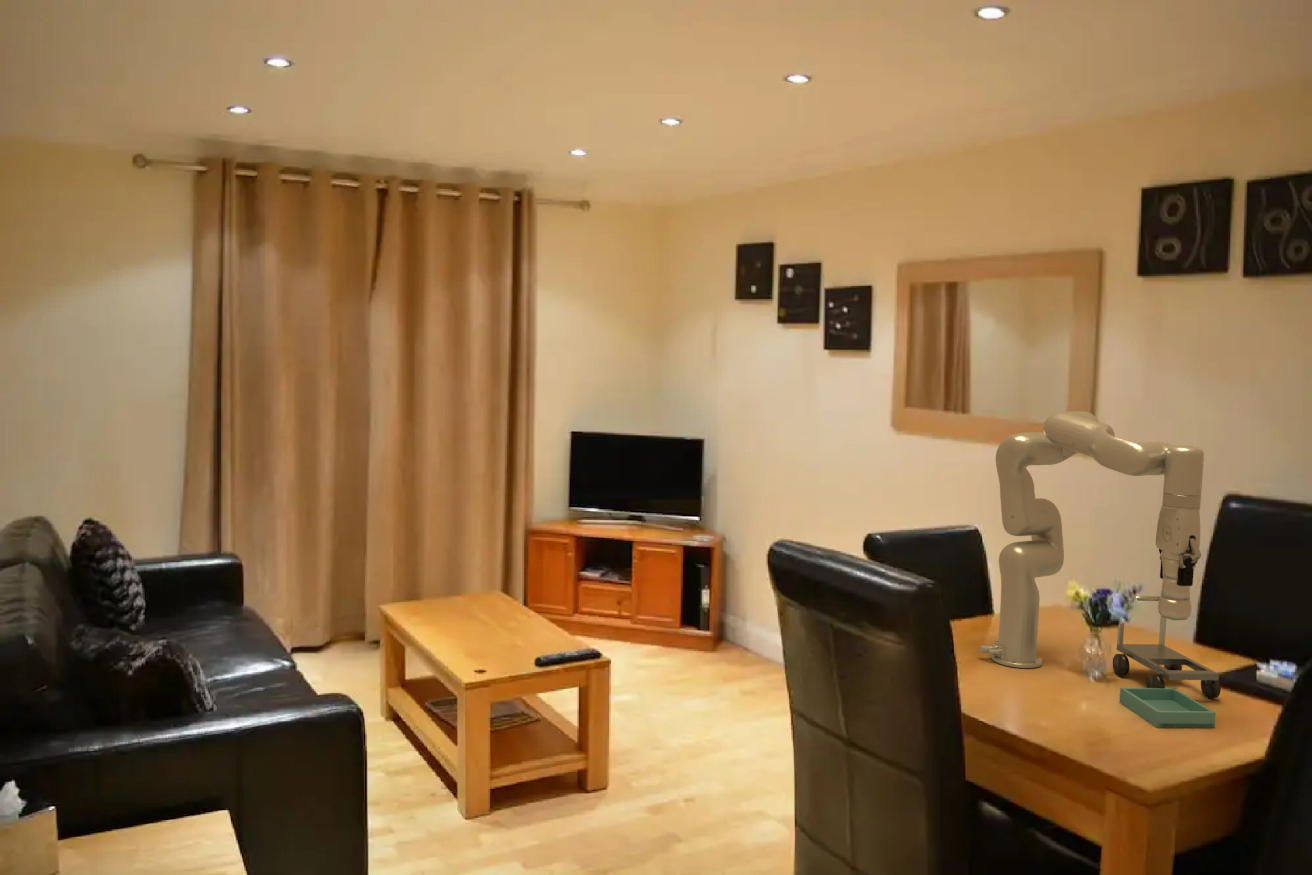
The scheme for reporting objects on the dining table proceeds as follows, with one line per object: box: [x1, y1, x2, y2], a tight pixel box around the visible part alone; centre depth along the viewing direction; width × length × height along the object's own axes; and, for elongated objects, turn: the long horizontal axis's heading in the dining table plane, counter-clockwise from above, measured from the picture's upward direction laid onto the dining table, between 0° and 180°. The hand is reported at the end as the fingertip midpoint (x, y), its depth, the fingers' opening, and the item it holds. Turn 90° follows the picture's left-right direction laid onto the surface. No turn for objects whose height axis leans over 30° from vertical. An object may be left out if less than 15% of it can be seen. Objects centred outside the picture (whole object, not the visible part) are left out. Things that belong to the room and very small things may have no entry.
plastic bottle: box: [1157, 548, 1192, 621], centre depth 228 cm, size 6×7×20 cm
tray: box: [1118, 687, 1217, 729], centre depth 231 cm, size 13×16×4 cm
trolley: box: [1112, 595, 1222, 699], centre depth 251 cm, size 15×24×20 cm, turn 4°
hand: (1175, 581), depth 229 cm, fingers closed on plastic bottle, 6 cm apart
